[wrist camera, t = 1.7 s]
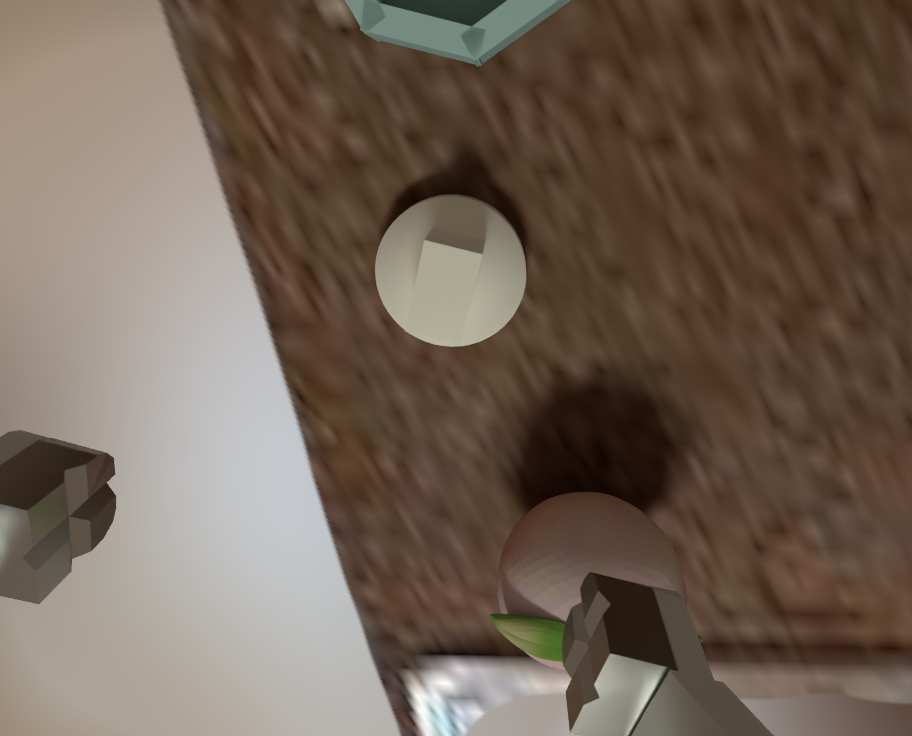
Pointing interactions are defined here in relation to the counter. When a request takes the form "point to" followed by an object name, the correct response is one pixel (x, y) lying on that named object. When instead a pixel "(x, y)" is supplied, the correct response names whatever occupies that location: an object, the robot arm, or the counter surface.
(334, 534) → the counter surface
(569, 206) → the counter surface
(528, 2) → the studded octagonal holder
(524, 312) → the counter surface
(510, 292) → the cap
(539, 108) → the counter surface
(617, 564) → the decorative fruit
